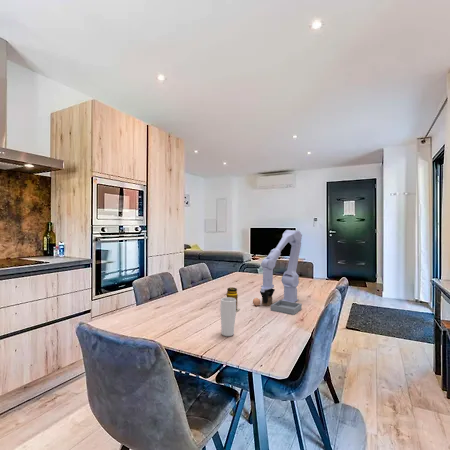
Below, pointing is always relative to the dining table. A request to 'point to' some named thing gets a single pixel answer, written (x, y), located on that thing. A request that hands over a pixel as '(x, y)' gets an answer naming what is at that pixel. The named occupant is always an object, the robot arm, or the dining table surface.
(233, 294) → the condiment
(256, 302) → the ball
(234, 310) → the drinking glass
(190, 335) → the dining table surface
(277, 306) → the tray
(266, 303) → the cube
